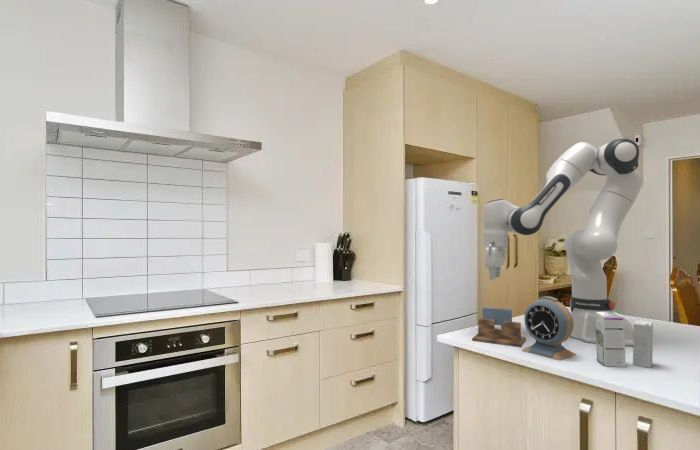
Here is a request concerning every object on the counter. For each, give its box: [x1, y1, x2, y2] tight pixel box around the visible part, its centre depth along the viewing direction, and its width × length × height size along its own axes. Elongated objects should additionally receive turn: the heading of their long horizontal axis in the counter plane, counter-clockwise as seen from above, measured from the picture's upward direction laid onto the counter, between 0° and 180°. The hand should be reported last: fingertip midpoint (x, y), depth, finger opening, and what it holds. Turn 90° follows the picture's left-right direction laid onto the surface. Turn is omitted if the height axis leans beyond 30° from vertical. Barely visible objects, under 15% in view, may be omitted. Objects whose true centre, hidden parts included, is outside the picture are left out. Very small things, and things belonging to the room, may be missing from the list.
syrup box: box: [595, 311, 627, 368], centre depth 119 cm, size 6×6×14 cm
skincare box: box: [632, 319, 654, 369], centre depth 118 cm, size 6×4×12 cm
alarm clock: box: [521, 295, 577, 361], centre depth 130 cm, size 14×10×18 cm
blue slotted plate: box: [481, 306, 513, 329], centre depth 156 cm, size 10×2×9 cm, turn 58°
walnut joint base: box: [471, 317, 527, 348], centre depth 145 cm, size 16×11×7 cm
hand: (494, 278), depth 155 cm, fingers open, 8 cm apart
